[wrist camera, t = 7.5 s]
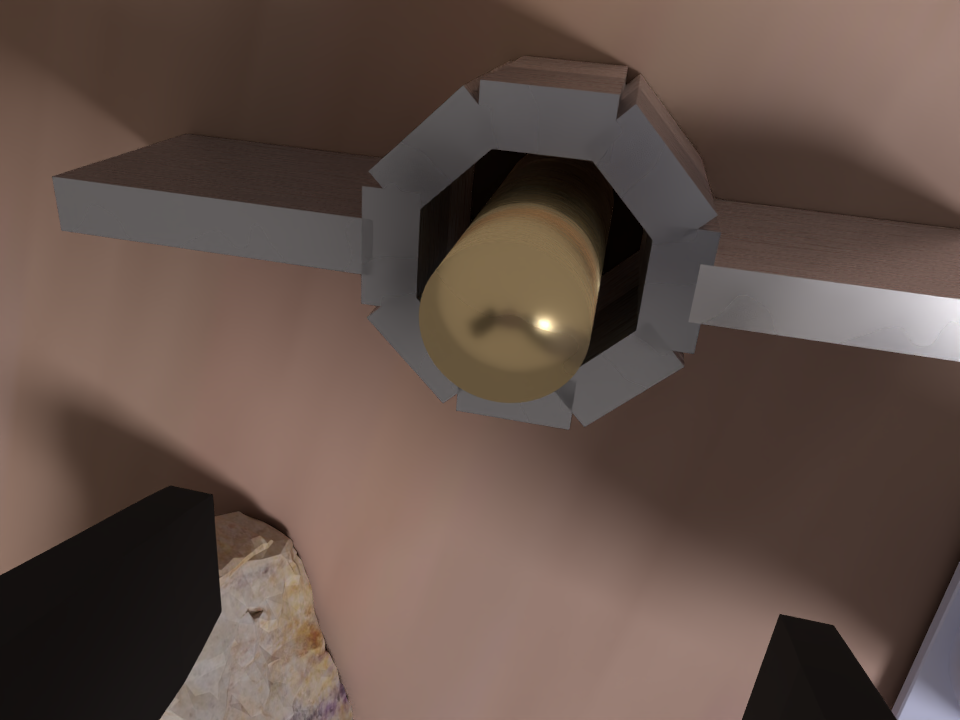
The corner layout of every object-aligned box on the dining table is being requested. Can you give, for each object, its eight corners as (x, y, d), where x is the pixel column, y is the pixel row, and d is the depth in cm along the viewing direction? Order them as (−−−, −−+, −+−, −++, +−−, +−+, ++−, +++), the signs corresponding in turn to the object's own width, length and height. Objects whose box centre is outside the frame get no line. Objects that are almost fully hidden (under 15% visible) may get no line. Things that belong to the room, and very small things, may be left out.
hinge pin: (620, 149, 16) (601, 252, 10) (606, 259, 17) (581, 413, 11) (506, 139, 16) (419, 232, 10) (500, 248, 18) (417, 391, 11)
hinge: (1045, 108, 14) (1196, 155, 10) (938, 384, 17) (1025, 506, 13) (175, 20, 17) (27, 30, 13) (198, 272, 19) (81, 347, 15)
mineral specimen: (69, 480, 24) (-108, 631, 18) (280, 470, 22) (154, 634, 16) (203, 769, 29) (96, 955, 23) (383, 780, 27) (314, 985, 21)
